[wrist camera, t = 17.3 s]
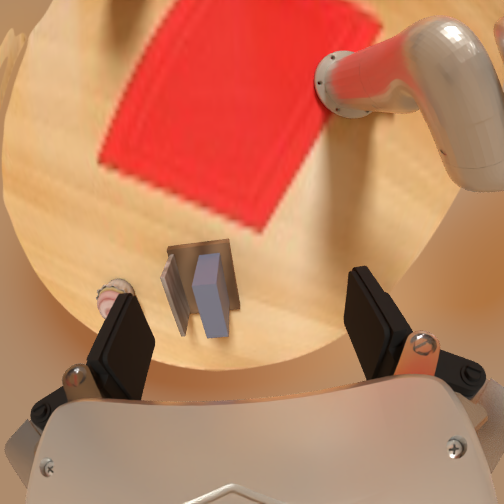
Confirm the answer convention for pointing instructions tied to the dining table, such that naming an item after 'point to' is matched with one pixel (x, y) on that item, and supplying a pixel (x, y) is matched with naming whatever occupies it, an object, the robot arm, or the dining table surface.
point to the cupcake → (111, 294)
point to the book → (212, 295)
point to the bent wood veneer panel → (182, 274)
